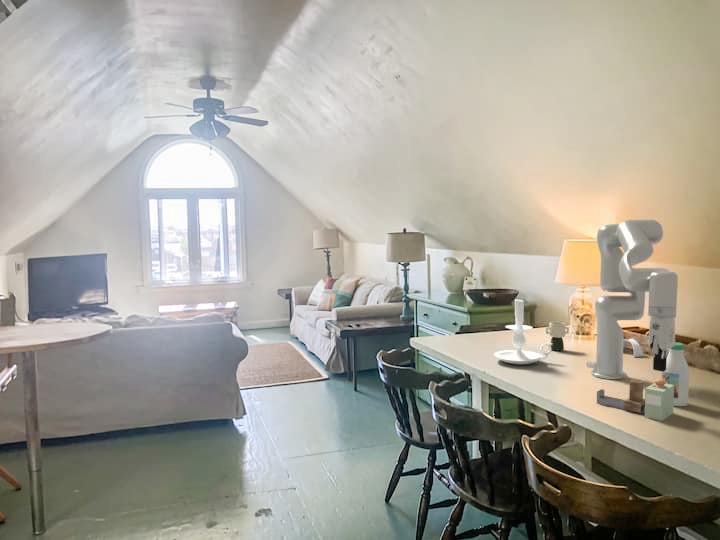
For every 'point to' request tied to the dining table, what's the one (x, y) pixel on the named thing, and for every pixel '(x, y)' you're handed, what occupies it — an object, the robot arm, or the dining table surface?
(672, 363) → the milk bottle
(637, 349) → the white arch
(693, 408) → the dining table surface
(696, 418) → the dining table surface
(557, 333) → the character mug
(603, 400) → the rail
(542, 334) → the dining table surface
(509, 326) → the candlestick
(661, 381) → the gauge plunger
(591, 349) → the dining table surface
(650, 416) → the cabinet
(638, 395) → the carriage
